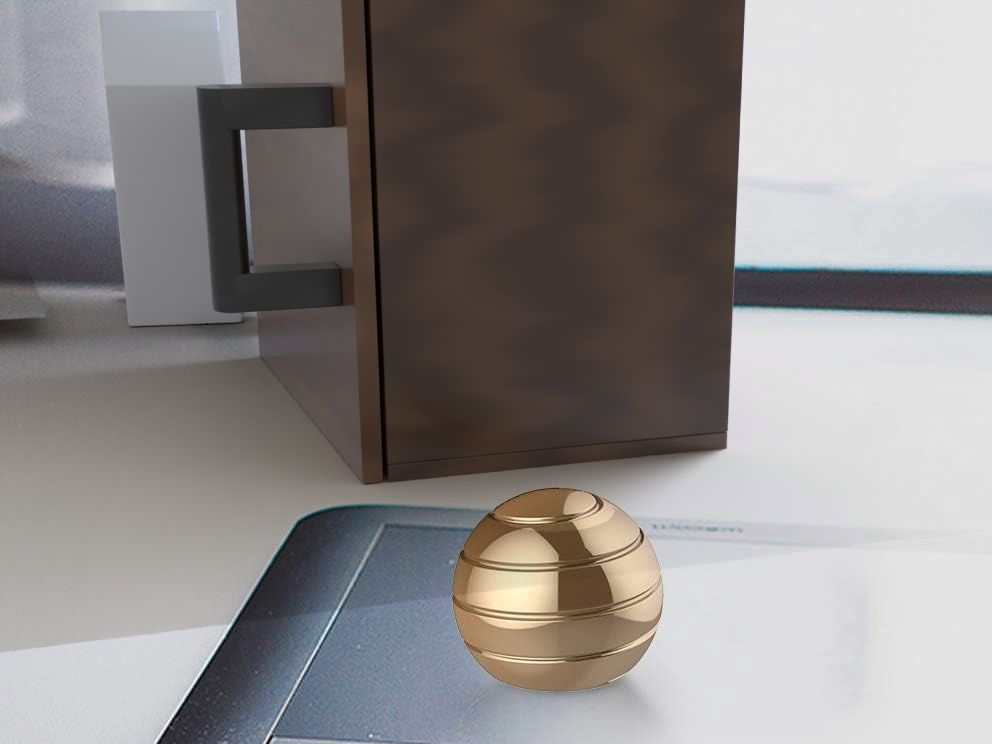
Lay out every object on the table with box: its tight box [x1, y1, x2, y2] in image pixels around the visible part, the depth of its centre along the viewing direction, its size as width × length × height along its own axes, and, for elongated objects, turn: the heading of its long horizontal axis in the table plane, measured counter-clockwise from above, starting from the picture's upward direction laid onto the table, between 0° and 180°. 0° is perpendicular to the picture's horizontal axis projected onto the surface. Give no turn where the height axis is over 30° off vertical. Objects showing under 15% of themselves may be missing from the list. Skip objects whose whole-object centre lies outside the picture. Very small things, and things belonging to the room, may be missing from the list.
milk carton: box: [98, 9, 243, 327], centre depth 112 cm, size 7×7×19 cm
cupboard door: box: [196, 0, 384, 485], centre depth 90 cm, size 7×26×24 cm, turn 22°
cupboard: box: [364, 0, 747, 483], centre depth 94 cm, size 18×26×24 cm
